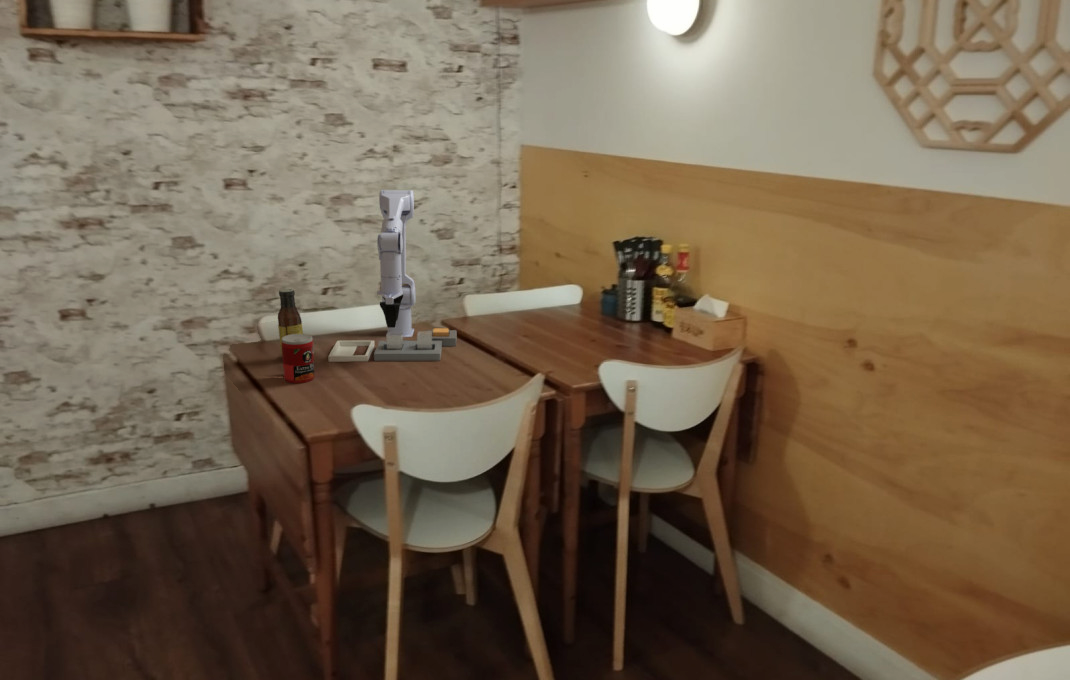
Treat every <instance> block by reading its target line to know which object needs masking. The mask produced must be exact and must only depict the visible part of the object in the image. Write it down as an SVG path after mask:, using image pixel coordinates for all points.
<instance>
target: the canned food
mask: <svg viewBox="0 0 1070 680" xmlns="http://www.w3.org/2000/svg"><path fill="white" fill-rule="evenodd" d="M281 343H282V356H281V357H282V358H283V359H282V370H283V372H282V373H283V379H284V380H285V381H286V382H287V383H290V384H304V383H309V382H311V381H313V380H314V378H315V373H316V372H315V356H314V355H315V354H314V340H313V336H312V335H309V334H306V333H305V334H304V333H303V334H292V335H287V336H284V337H282V340H281Z"/></svg>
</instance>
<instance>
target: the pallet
mask: <svg viewBox="0 0 1070 680" xmlns="http://www.w3.org/2000/svg"><path fill="white" fill-rule="evenodd" d="M432 348H433V350H417V340H403V348H402V350H387V340H378V343H377V346H376V348H375V349H374V353H373V361H374V362H408V361H409V362H410V361H412V362H418V361H419V362H420V361H421V362H425V361H427V362H429V361H430V362H432V361H433V362H438V361H439V362H441V356H442V350H443V346H442V341H432Z"/></svg>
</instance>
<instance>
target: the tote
mask: <svg viewBox="0 0 1070 680" xmlns="http://www.w3.org/2000/svg"><path fill="white" fill-rule="evenodd" d="M358 347H368V348H367V350H366V352H365V354H361V355H360V354H359V355H357V354H355V352H356V350H357V348H358ZM374 348H375V340H337V341H336V342H335V344H334V346H333V348H332V349H331V351H330V353H329V355H328V357H327V358H328V359H327V360H328V362H329V363H331V362H332V363H338V362H339V363H342V362H346V363H348V362H349V363H350V362H368V361H369V359H370V358H371V354H372V352H373V351H374ZM354 354H355V355H354Z"/></svg>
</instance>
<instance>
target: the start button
mask: <svg viewBox="0 0 1070 680" xmlns="http://www.w3.org/2000/svg"><path fill="white" fill-rule="evenodd" d="M432 330H433V337H449V330H450V329H449V328H441V327H440V328H439V327H437V328H434V327H433V329H432Z"/></svg>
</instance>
